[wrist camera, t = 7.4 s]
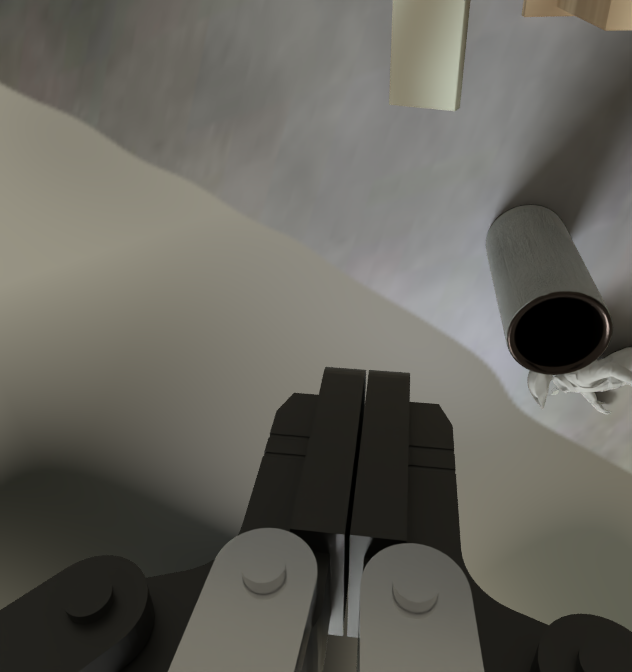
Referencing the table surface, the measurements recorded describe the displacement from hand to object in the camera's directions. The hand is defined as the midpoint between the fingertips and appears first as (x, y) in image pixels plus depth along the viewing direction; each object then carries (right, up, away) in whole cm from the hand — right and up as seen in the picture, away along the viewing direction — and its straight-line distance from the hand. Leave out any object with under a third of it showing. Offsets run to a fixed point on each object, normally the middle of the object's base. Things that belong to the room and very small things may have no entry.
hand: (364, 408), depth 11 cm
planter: (+11, +7, +25) cm, 28 cm away
